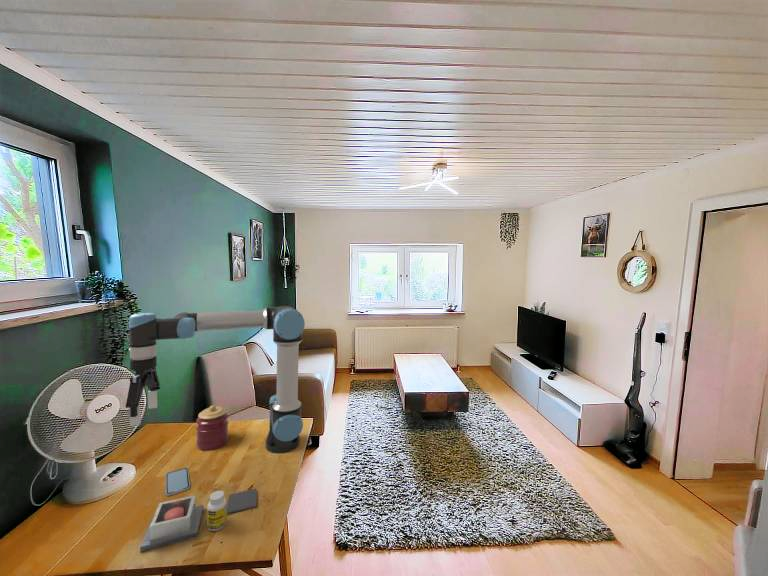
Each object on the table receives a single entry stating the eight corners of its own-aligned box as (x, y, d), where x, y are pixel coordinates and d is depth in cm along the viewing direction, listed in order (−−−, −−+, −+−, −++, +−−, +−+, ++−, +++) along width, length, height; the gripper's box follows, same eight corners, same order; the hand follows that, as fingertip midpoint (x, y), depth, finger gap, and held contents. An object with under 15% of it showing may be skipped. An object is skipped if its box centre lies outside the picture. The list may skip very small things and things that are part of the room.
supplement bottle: (205, 533, 95) (205, 502, 95) (209, 520, 101) (209, 490, 100) (224, 529, 97) (224, 499, 96) (228, 516, 102) (228, 487, 102)
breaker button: (185, 509, 100) (185, 505, 100) (182, 521, 95) (182, 516, 95) (166, 514, 98) (166, 509, 98) (162, 526, 93) (162, 521, 93)
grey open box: (203, 508, 105) (203, 491, 105) (197, 537, 94) (197, 517, 94) (152, 520, 100) (152, 502, 99) (140, 552, 89) (139, 531, 88)
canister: (207, 435, 152) (207, 399, 151) (233, 436, 151) (233, 400, 150) (189, 450, 139) (189, 411, 138) (218, 451, 138) (218, 412, 137)
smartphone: (187, 466, 127) (190, 487, 114) (187, 469, 127) (190, 489, 114) (165, 473, 123) (165, 495, 110) (165, 475, 123) (165, 497, 110)
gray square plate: (256, 489, 115) (256, 488, 115) (256, 507, 106) (256, 505, 106) (229, 496, 111) (228, 494, 111) (226, 514, 103) (226, 512, 103)
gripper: (146, 349, 122) (147, 402, 123) (110, 368, 98) (112, 434, 99) (169, 348, 124) (169, 400, 125) (139, 367, 100) (140, 432, 101)
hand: (144, 416), depth 112 cm, fingers open, 13 cm apart
